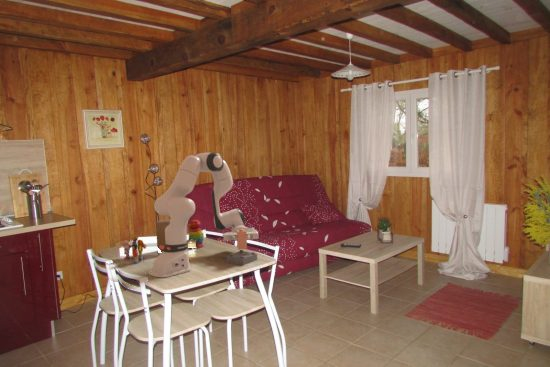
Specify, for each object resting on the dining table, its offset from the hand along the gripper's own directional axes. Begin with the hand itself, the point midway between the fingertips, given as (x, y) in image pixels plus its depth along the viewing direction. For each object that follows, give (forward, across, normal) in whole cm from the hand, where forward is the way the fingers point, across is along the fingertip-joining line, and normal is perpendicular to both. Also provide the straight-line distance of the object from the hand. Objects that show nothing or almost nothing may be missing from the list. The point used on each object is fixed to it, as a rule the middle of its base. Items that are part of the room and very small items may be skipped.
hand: (241, 238), depth 221 cm
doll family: (-19, -61, +13) cm, 65 cm away
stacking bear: (-40, -27, +13) cm, 50 cm away
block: (-32, -44, +13) cm, 56 cm away
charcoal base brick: (-1, 0, +13) cm, 13 cm away
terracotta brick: (-1, 0, +6) cm, 6 cm away
